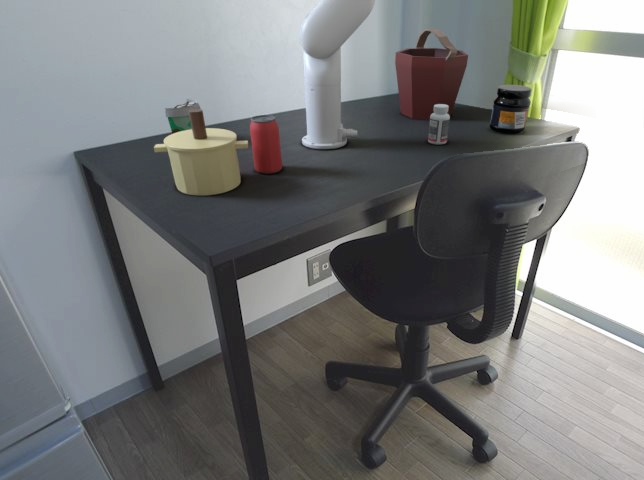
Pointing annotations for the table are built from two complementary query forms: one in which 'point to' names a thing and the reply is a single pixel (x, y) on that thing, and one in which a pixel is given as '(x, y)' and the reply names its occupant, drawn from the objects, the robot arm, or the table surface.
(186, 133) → the lid
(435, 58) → the bucket
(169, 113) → the food container
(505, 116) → the supplement container
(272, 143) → the beer can
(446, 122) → the pill bottle
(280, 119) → the table surface
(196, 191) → the pot
